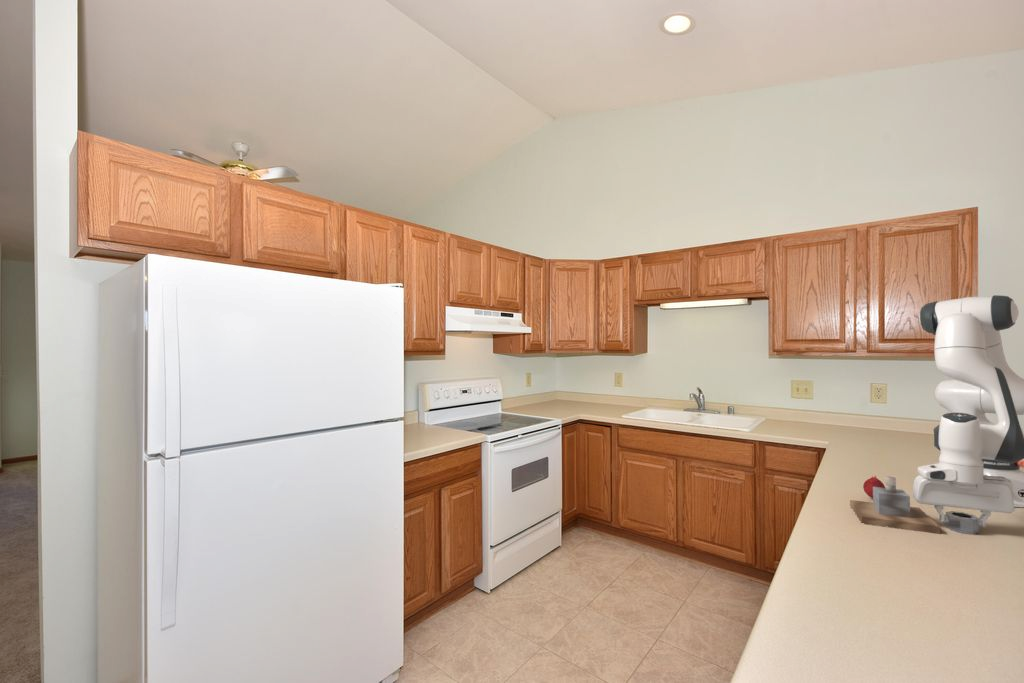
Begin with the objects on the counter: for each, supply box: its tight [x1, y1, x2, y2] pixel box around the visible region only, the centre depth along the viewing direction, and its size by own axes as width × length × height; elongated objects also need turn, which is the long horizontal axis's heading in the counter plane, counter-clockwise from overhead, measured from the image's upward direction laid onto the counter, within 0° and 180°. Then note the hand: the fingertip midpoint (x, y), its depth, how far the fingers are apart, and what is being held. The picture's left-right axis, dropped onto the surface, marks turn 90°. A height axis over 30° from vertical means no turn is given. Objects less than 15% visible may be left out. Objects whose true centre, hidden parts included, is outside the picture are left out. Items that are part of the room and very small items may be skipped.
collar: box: [945, 510, 980, 535], centre depth 127 cm, size 6×6×4 cm
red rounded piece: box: [862, 474, 885, 500], centre depth 153 cm, size 6×6×8 cm
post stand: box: [849, 476, 941, 534], centre depth 136 cm, size 17×16×12 cm
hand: (962, 523), depth 127 cm, fingers closed on collar, 6 cm apart
